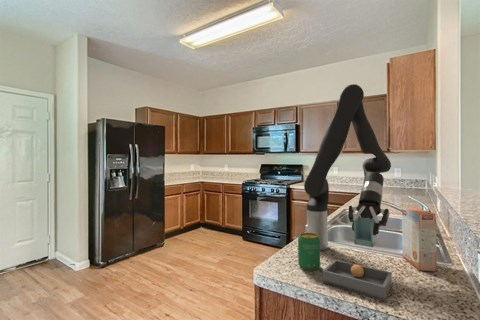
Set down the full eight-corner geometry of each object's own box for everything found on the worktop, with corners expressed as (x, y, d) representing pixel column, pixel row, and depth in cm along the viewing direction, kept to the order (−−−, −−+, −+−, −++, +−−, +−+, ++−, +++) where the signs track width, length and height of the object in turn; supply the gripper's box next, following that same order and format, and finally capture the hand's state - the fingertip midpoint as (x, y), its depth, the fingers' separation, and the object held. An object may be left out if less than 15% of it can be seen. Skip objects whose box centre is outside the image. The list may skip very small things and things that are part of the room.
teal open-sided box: (358, 239, 95) (358, 217, 95) (376, 242, 91) (376, 219, 91) (354, 244, 90) (353, 220, 91) (372, 247, 87) (372, 222, 87)
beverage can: (319, 263, 99) (318, 232, 99) (321, 272, 91) (320, 239, 91) (298, 262, 100) (297, 231, 100) (298, 270, 93) (298, 237, 93)
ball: (363, 265, 83) (366, 278, 82) (360, 263, 87) (363, 275, 86) (350, 266, 84) (353, 279, 83) (348, 264, 87) (351, 276, 87)
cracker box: (438, 272, 89) (436, 213, 89) (418, 271, 91) (417, 213, 91) (418, 257, 103) (417, 206, 103) (402, 256, 104) (401, 206, 104)
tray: (322, 283, 83) (322, 270, 83) (335, 270, 92) (335, 259, 92) (385, 301, 71) (385, 287, 72) (392, 285, 81) (391, 272, 81)
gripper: (349, 188, 102) (341, 224, 92) (390, 190, 93) (385, 229, 83) (353, 200, 106) (345, 235, 96) (393, 202, 97) (389, 241, 87)
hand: (364, 232), depth 90 cm, fingers closed on teal open-sided box, 6 cm apart
